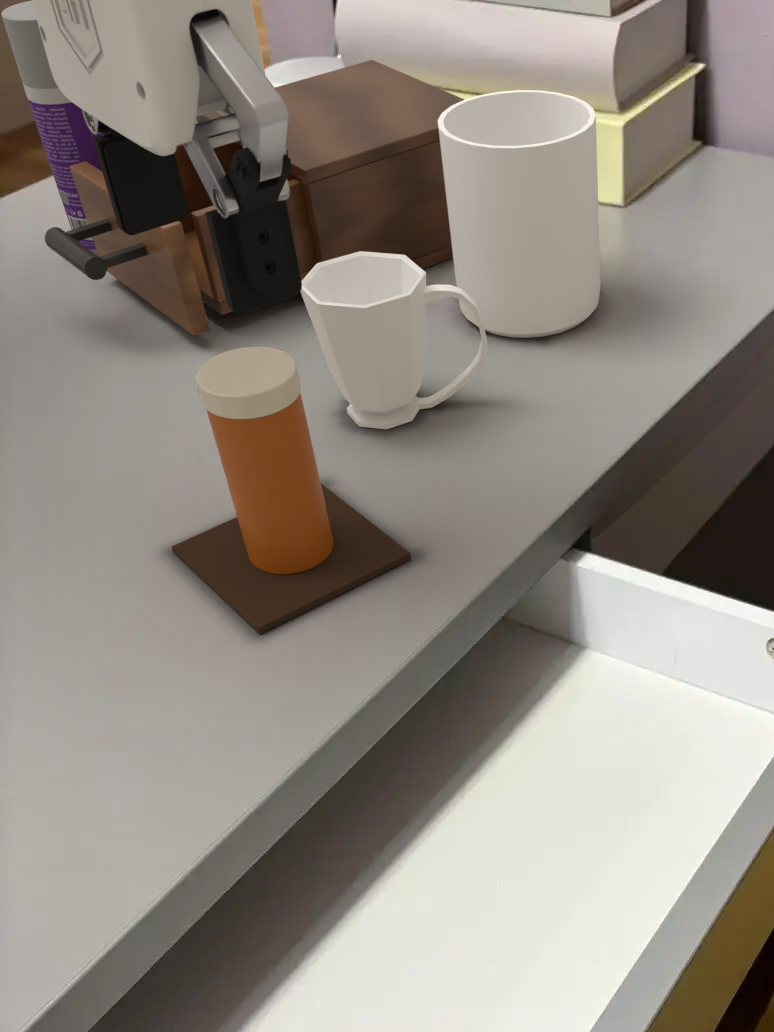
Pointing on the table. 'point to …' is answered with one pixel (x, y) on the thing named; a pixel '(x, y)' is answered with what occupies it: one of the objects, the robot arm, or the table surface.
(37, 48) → the container
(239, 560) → the coaster
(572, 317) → the mug
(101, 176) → the drawer
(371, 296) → the cup
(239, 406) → the spice jar
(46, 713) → the table surface
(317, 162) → the cabinet
